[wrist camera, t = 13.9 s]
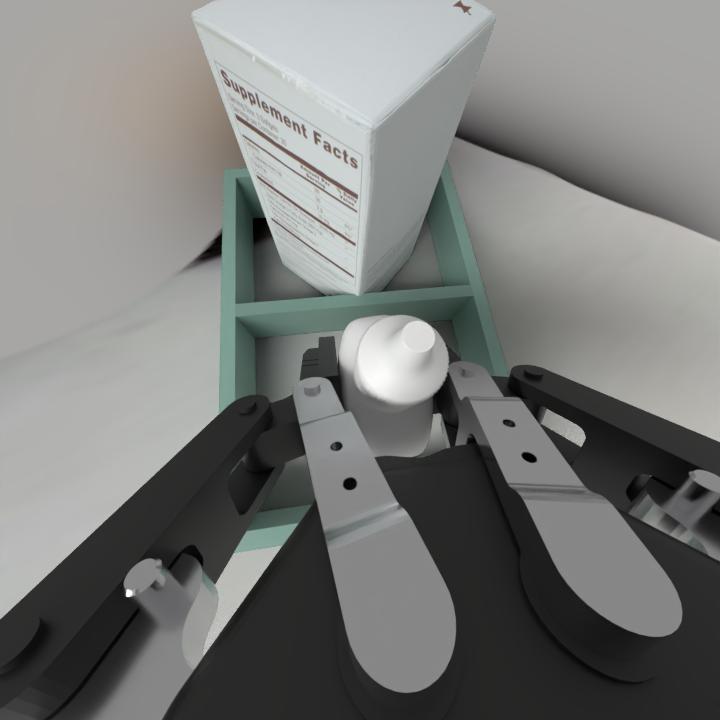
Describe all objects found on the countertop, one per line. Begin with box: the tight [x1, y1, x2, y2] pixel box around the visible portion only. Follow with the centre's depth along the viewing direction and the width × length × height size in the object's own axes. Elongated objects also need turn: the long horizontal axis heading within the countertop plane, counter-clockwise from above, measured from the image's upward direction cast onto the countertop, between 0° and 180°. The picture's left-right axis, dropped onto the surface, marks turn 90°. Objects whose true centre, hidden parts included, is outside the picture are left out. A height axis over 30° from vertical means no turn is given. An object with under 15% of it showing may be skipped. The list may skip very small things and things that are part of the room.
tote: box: [219, 161, 509, 553], centre depth 17 cm, size 16×23×4 cm
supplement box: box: [191, 0, 496, 296], centre depth 14 cm, size 7×7×13 cm
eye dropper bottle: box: [338, 315, 450, 457], centre depth 11 cm, size 4×6×12 cm
